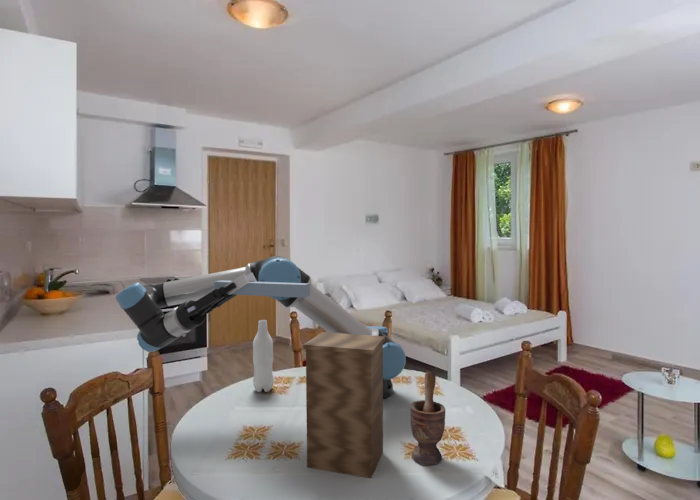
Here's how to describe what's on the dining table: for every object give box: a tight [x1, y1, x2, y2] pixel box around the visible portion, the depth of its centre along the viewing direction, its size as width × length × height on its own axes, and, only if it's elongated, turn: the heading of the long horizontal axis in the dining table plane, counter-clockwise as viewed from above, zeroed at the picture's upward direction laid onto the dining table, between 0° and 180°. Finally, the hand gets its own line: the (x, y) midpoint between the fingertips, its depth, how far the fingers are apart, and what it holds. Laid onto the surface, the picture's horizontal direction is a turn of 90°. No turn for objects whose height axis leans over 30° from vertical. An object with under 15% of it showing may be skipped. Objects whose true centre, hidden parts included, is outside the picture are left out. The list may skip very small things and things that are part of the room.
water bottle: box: [252, 319, 275, 393], centre depth 153 cm, size 7×7×25 cm
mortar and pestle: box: [409, 371, 446, 466], centre depth 109 cm, size 12×9×20 cm
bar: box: [214, 280, 310, 298], centre depth 112 cm, size 26×3×3 cm, turn 73°
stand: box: [302, 331, 385, 479], centre depth 106 cm, size 17×13×30 cm
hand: (250, 277), depth 112 cm, fingers closed on bar, 3 cm apart
